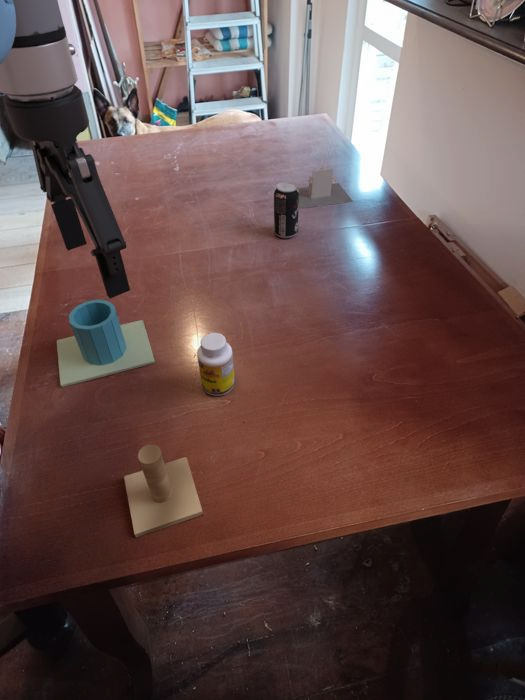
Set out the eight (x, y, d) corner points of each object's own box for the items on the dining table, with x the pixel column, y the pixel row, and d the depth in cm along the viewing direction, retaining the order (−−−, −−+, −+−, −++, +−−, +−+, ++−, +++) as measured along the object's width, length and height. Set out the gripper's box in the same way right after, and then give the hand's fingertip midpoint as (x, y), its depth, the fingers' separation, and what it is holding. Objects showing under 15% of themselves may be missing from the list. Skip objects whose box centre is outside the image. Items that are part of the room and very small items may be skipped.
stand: (135, 538, 62) (117, 497, 54) (125, 479, 68) (107, 436, 60) (203, 514, 64) (194, 472, 56) (187, 460, 70) (177, 415, 62)
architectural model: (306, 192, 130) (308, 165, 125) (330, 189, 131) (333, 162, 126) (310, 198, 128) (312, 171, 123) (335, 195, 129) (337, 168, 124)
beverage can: (293, 226, 117) (294, 179, 109) (300, 237, 113) (303, 190, 105) (271, 229, 116) (270, 182, 108) (277, 241, 112) (278, 193, 104)
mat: (61, 387, 80) (60, 385, 80) (57, 342, 89) (56, 340, 88) (155, 363, 84) (154, 360, 84) (143, 321, 92) (142, 319, 92)
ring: (85, 369, 82) (70, 333, 77) (81, 341, 88) (67, 305, 82) (129, 358, 84) (118, 322, 78) (122, 331, 89) (112, 295, 84)
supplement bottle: (195, 385, 80) (187, 341, 73) (219, 368, 83) (214, 323, 76) (217, 403, 77) (211, 359, 70) (242, 384, 80) (238, 340, 73)
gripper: (131, 113, 42) (168, 303, 57) (37, 58, 56) (86, 221, 71) (46, 134, 39) (109, 329, 53) (-31, 70, 53) (36, 238, 68)
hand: (96, 268), depth 62 cm, fingers open, 13 cm apart
